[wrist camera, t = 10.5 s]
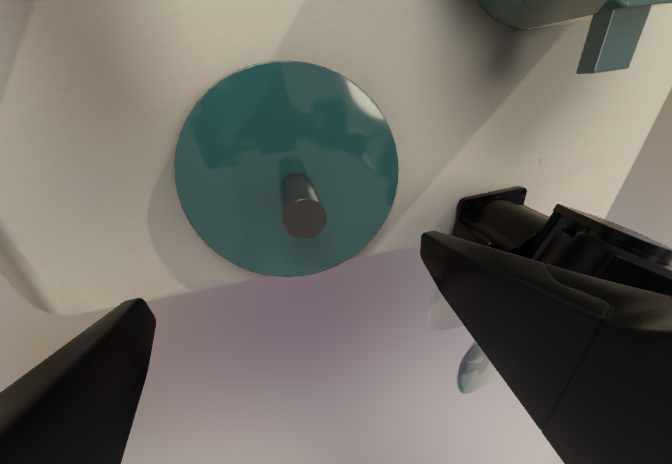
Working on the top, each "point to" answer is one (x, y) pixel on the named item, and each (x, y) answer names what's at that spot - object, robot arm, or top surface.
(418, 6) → the top surface
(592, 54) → the teal cooking pot
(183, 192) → the lid
